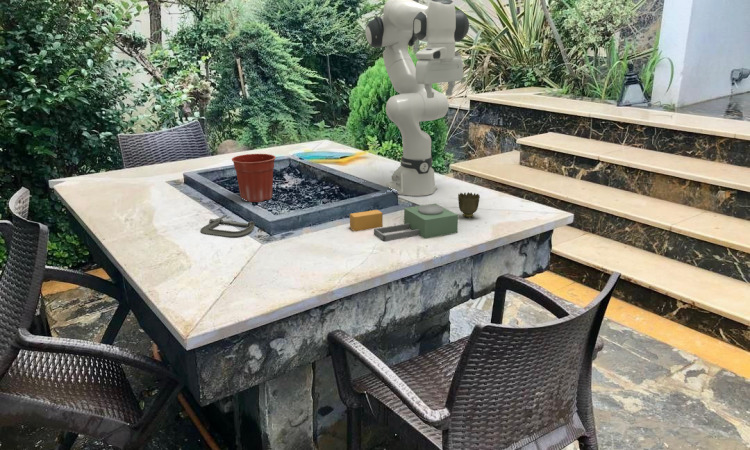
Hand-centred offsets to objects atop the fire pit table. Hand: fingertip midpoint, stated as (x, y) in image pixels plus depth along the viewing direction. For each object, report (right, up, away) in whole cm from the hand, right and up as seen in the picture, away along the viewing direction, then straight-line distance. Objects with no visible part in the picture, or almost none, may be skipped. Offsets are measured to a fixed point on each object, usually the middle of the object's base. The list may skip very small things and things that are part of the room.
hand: (439, 96), depth 188 cm
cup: (+11, -39, +11) cm, 43 cm away
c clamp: (-70, -44, +4) cm, 82 cm away
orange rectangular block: (-24, -43, +2) cm, 49 cm away
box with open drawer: (-9, -44, -3) cm, 45 cm away
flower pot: (-67, -32, +37) cm, 83 cm away
